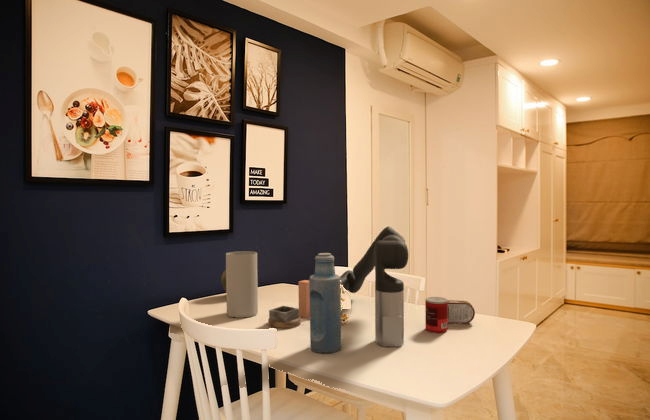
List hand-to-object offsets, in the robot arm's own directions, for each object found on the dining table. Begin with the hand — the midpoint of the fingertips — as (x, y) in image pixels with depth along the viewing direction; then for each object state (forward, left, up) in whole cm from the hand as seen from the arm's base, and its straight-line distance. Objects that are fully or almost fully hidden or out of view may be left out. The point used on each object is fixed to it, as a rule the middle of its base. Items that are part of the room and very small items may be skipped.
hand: (308, 294), depth 170 cm
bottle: (-38, -6, -9) cm, 40 cm away
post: (-1, +1, -8) cm, 9 cm away
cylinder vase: (+3, +27, -9) cm, 29 cm away
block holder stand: (-12, +9, -8) cm, 17 cm away
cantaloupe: (+34, +35, -9) cm, 49 cm away
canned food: (-21, -46, -9) cm, 51 cm away
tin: (-13, -55, -9) cm, 57 cm away
